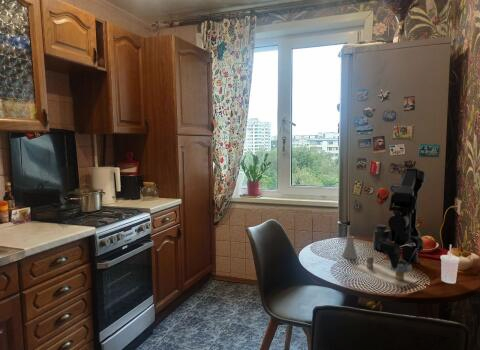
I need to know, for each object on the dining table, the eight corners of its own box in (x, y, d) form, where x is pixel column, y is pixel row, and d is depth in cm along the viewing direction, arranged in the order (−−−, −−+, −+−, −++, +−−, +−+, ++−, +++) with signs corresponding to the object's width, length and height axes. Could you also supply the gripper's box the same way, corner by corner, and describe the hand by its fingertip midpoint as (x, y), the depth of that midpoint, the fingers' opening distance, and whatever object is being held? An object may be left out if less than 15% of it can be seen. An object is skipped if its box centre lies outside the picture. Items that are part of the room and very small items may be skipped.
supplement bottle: (389, 249, 162) (390, 224, 161) (387, 253, 156) (388, 228, 155) (374, 246, 166) (375, 223, 165) (371, 250, 160) (372, 226, 159)
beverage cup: (451, 285, 121) (453, 248, 120) (435, 279, 127) (437, 243, 126) (462, 282, 124) (464, 245, 122) (446, 276, 129) (448, 241, 128)
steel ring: (397, 264, 129) (397, 257, 129) (414, 269, 124) (414, 263, 123) (385, 267, 126) (386, 261, 125) (403, 274, 120) (403, 267, 120)
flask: (359, 262, 145) (360, 239, 144) (342, 260, 147) (342, 238, 146) (357, 256, 152) (357, 235, 151) (340, 255, 154) (341, 234, 153)
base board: (369, 263, 143) (370, 250, 142) (420, 282, 124) (421, 266, 124) (350, 269, 137) (351, 255, 136) (401, 289, 118) (401, 273, 118)
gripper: (397, 217, 135) (395, 255, 136) (366, 224, 125) (365, 264, 126) (424, 223, 125) (422, 263, 127) (394, 231, 115) (392, 274, 117)
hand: (400, 266), depth 125 cm, fingers closed on steel ring, 7 cm apart
